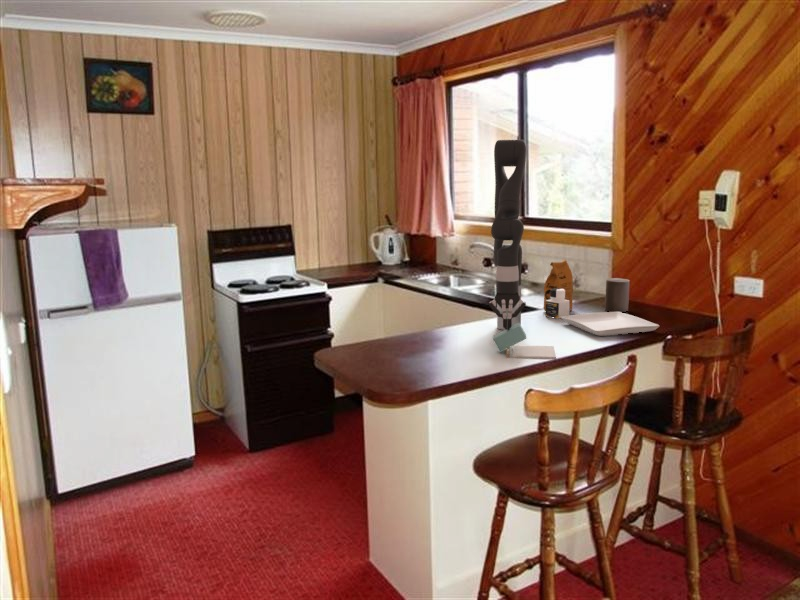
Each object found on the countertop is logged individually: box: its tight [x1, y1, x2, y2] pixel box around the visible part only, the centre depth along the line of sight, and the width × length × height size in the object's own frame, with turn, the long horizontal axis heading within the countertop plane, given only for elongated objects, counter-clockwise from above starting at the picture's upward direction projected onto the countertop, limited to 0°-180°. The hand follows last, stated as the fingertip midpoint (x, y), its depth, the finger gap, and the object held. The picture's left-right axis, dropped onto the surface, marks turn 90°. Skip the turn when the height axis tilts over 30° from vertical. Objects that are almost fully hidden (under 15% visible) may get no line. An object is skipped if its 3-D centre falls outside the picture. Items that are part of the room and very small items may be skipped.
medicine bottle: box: [545, 288, 570, 319], centre depth 281 cm, size 7×7×12 cm
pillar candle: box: [604, 276, 631, 313], centre depth 290 cm, size 10×10×15 cm
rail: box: [506, 347, 511, 359], centre depth 230 cm, size 14×1×2 cm, turn 171°
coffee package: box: [543, 259, 574, 312], centre depth 292 cm, size 10×12×22 cm
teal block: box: [492, 323, 527, 353], centre depth 229 cm, size 5×5×10 cm
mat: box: [512, 344, 557, 360], centre depth 228 cm, size 14×14×1 cm
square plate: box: [561, 311, 660, 337], centre depth 260 cm, size 27×27×4 cm
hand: (507, 329), depth 228 cm, fingers closed
